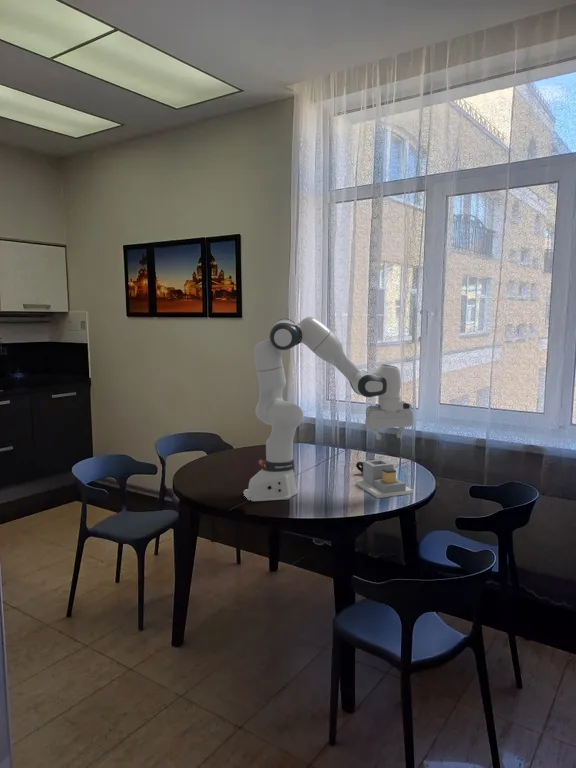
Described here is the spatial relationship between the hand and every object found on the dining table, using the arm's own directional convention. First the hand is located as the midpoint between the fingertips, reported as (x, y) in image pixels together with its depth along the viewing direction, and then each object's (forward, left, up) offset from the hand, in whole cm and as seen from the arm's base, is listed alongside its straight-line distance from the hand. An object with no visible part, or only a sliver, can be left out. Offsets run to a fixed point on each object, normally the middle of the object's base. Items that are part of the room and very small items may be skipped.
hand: (388, 438), depth 215 cm
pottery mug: (+4, +27, -23) cm, 35 cm away
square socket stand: (0, +5, -23) cm, 23 cm away
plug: (0, 0, -21) cm, 21 cm away
